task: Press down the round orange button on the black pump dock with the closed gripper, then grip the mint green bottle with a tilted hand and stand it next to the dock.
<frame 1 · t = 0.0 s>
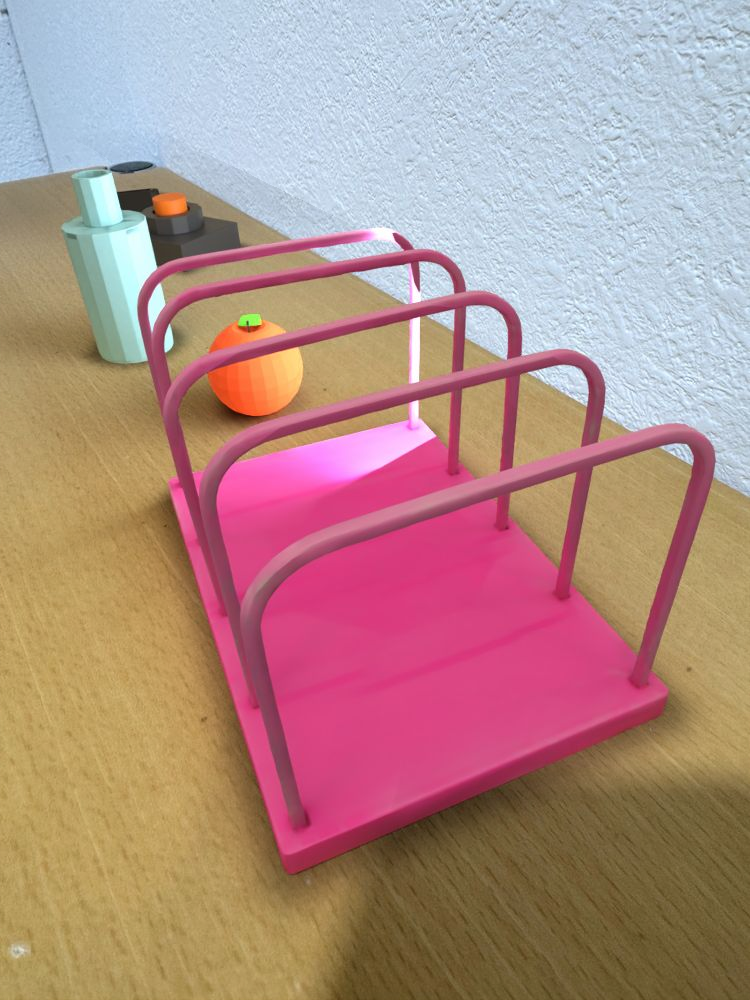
phone: (134, 213, 95), on the table
button: (170, 205, 78), point 5 cm above the table, slide at 0.1 cm
dock: (180, 254, 81), on the table
clementine: (262, 408, 53), on the table
file sorter: (374, 593, 37), on the table
mint green bottle: (137, 349, 61), on the table
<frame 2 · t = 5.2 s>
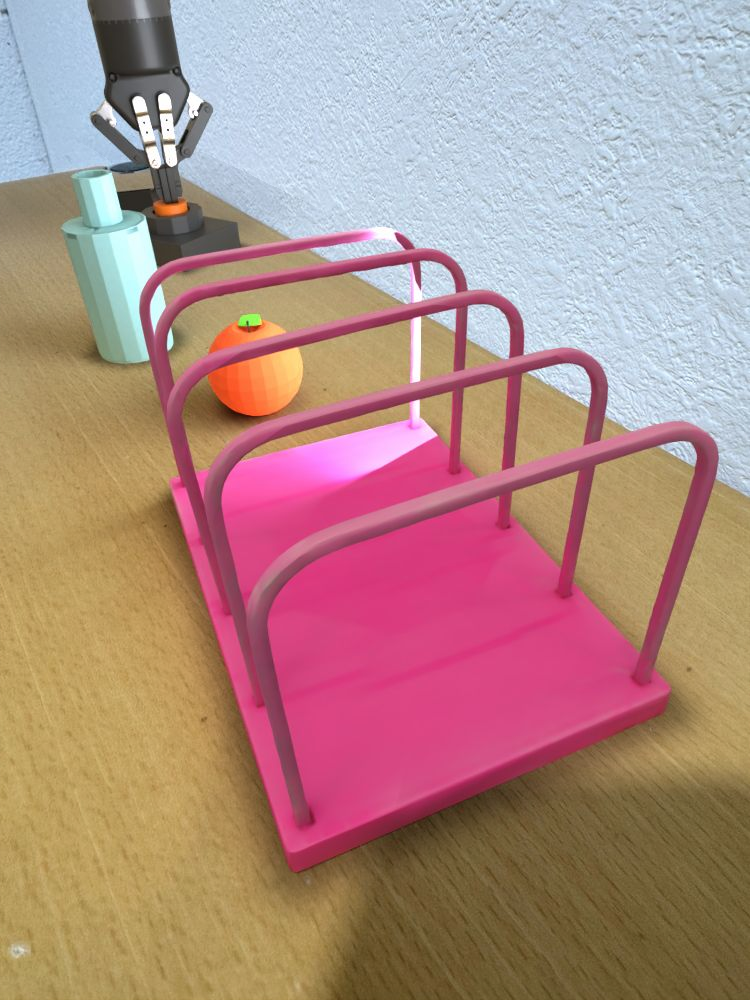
hand: (170, 201, 78), 6 cm above the table, tool pointing down, fingers closed
button: (171, 210, 78), point 5 cm above the table, slide at -0.4 cm, touching gripper
everything else where it was.
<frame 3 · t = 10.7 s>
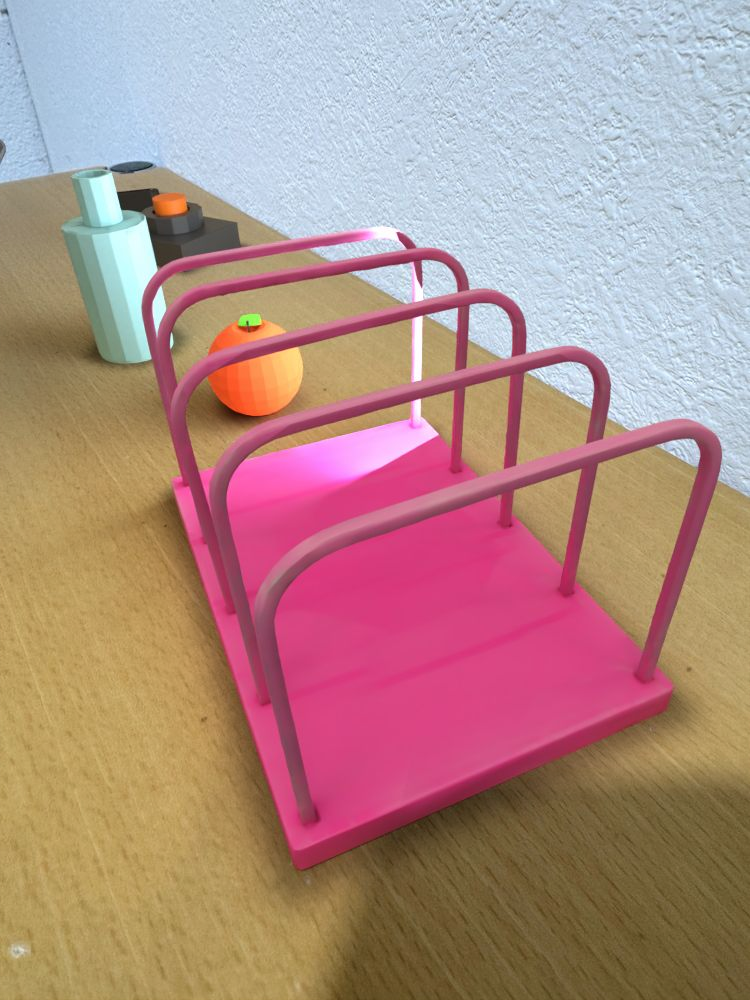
button: (170, 205, 78), point 5 cm above the table, slide at 0.1 cm
everything else where it was.
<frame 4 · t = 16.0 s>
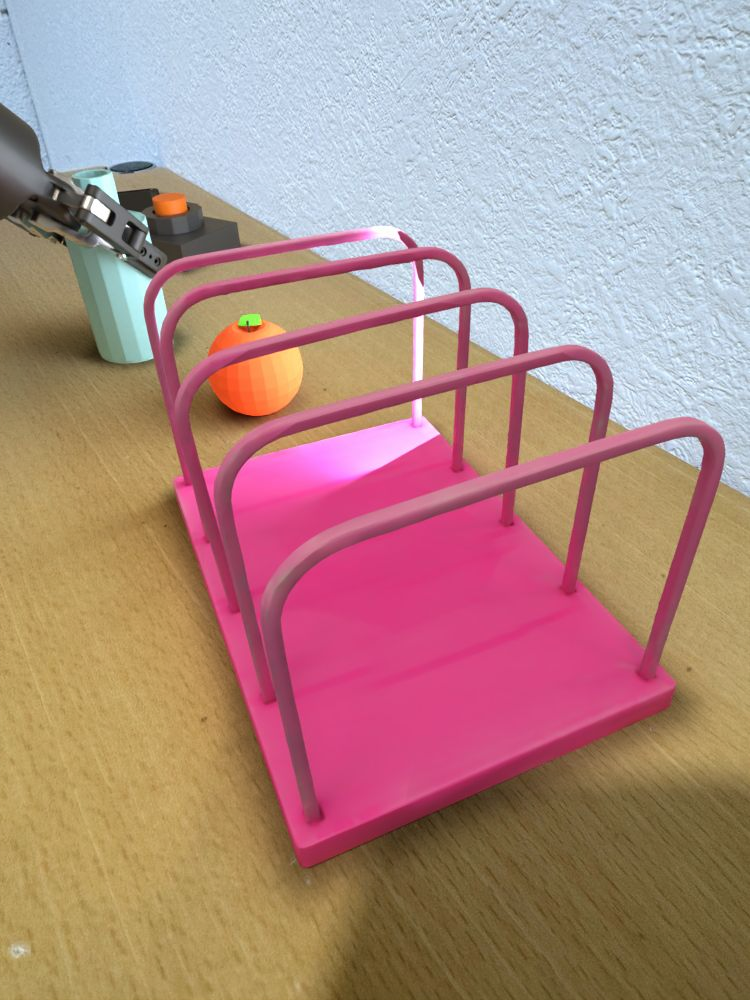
hand: (131, 261, 58), 7 cm above the table, tool tilted 45°, fingers closed on mint green bottle, 6 cm apart
mint green bottle: (137, 349, 61), on the table, touching gripper
everything else where it was.
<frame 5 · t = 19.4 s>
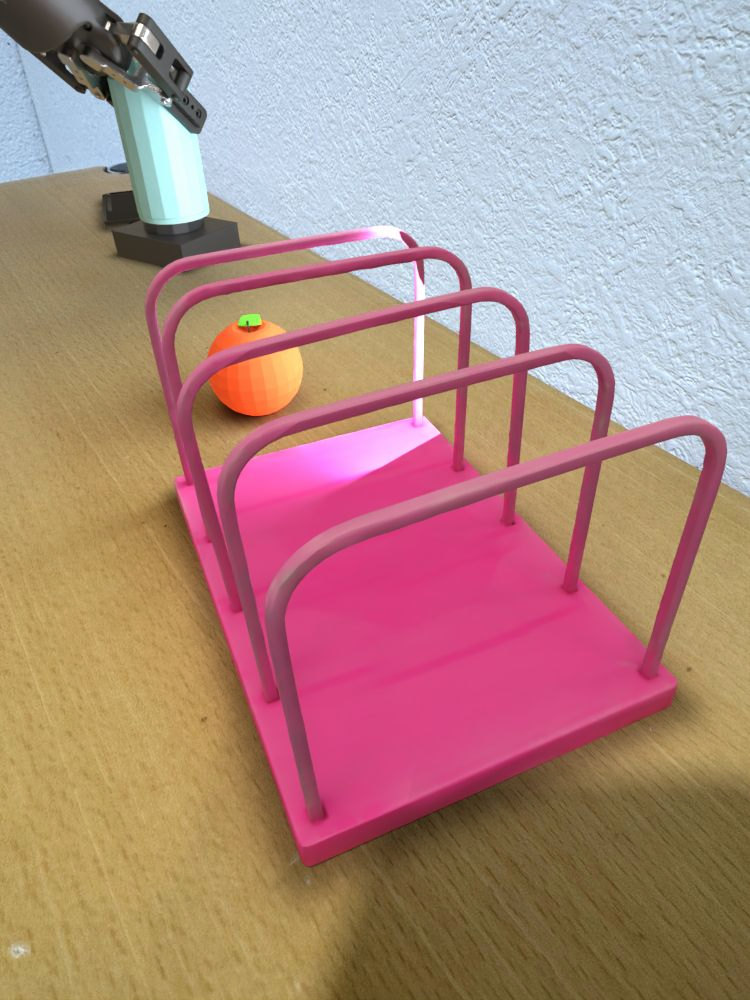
hand: (171, 120, 60), 16 cm above the table, tool tilted 45°, fingers closed on mint green bottle, 6 cm apart
mint green bottle: (175, 214, 64), point 9 cm above the table, touching gripper
everything else where it was.
when the fingers open (7 cm above the table, at t = 23.1 s): mint green bottle stays where it is, on the table.
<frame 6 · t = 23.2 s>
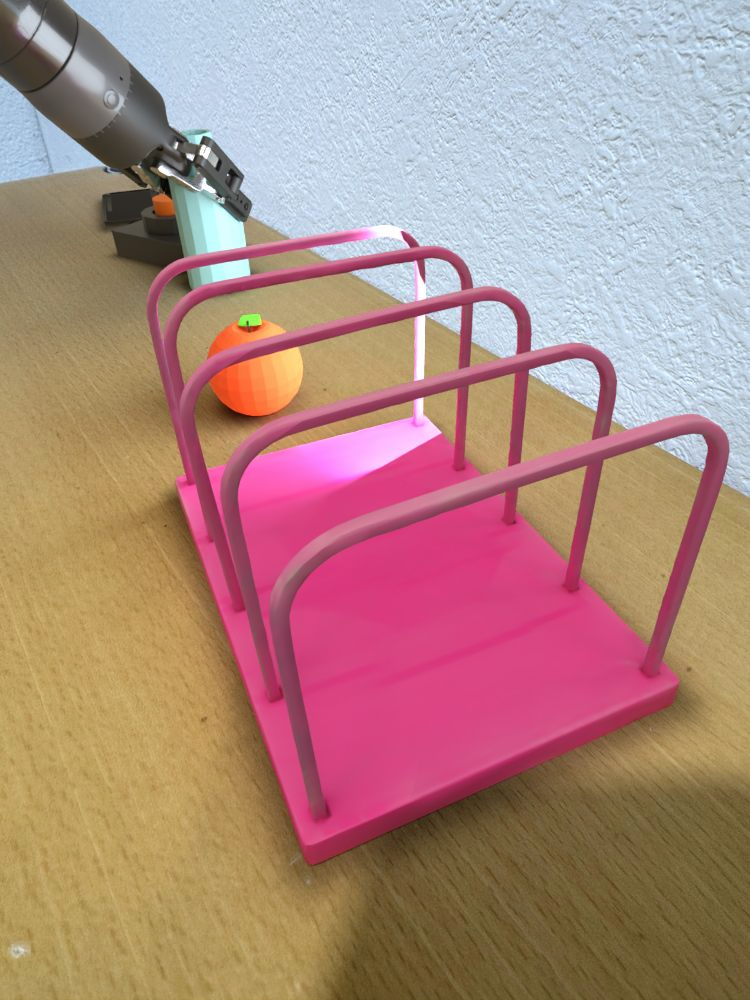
hand: (219, 208, 69), 7 cm above the table, tool tilted 45°, fingers open, 6 cm apart
mint green bottle: (221, 285, 73), on the table
everything else where it was.
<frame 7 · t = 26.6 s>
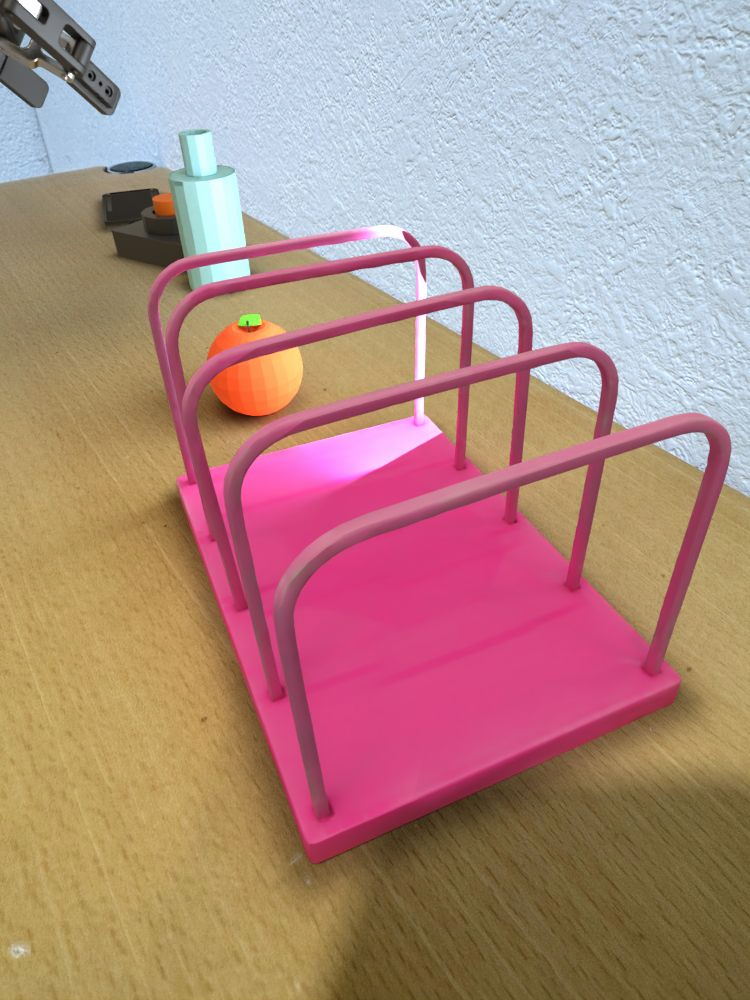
hand: (77, 101, 54), 19 cm above the table, tool tilted 45°, fingers open, 8 cm apart
nothing on the table moved.
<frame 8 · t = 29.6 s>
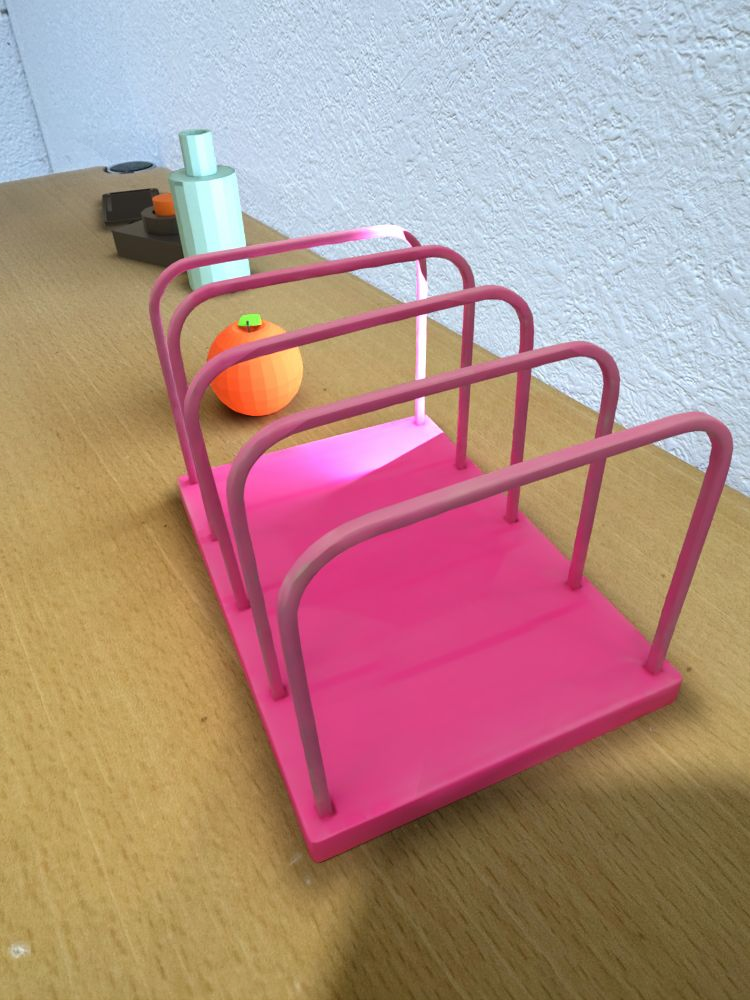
nothing on the table moved.
at the end: button pushed in 1.1 cm at the most during the clip, back to where it started at the end; mint green bottle inside the target area on the table beside the dock (0.1 cm from its centre), on the table; mint green bottle tilted 0° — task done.
